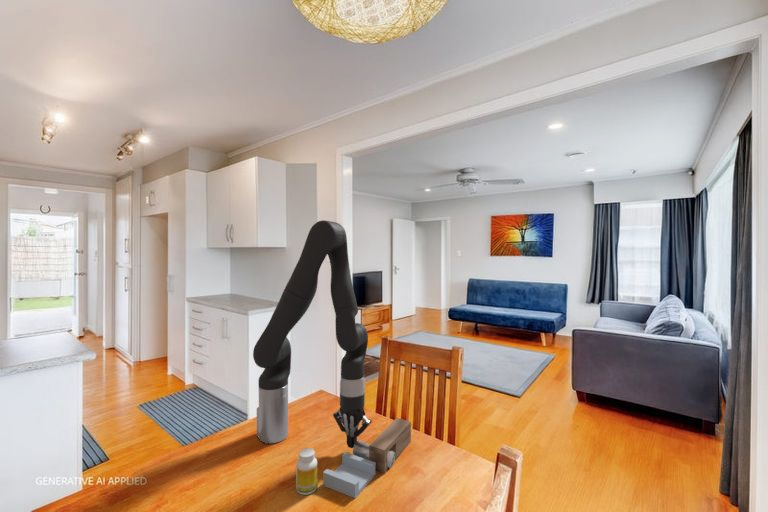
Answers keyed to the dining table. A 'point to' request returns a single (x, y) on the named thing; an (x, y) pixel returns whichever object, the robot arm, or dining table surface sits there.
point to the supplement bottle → (306, 472)
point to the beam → (390, 443)
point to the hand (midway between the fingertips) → (351, 446)
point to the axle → (363, 451)
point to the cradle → (350, 475)
